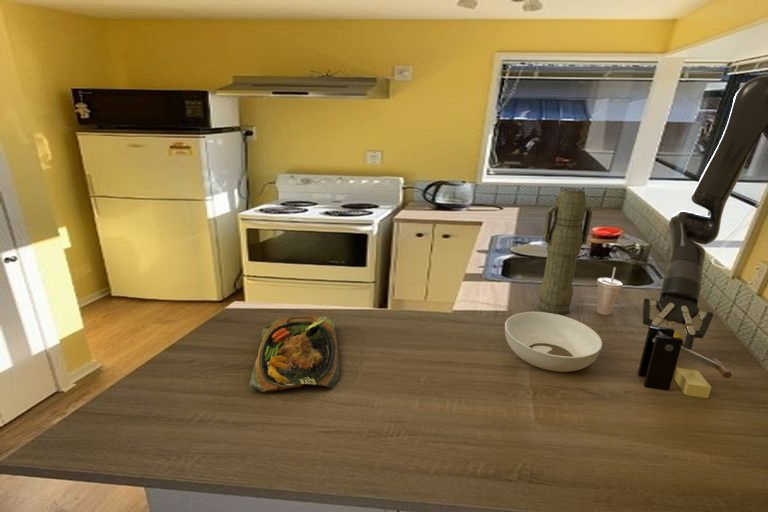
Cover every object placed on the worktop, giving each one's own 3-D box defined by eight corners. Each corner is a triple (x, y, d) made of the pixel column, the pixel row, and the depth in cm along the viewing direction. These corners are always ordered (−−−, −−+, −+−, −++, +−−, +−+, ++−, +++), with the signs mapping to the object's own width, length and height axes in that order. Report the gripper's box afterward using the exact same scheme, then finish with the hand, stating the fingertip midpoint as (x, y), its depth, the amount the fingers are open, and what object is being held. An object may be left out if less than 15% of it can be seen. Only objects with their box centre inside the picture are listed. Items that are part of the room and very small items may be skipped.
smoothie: (609, 319, 119) (619, 272, 115) (587, 311, 124) (596, 266, 119) (619, 313, 123) (629, 268, 119) (597, 305, 128) (606, 261, 123)
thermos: (527, 301, 129) (544, 187, 118) (564, 300, 130) (584, 187, 119) (541, 314, 121) (560, 192, 110) (580, 313, 122) (603, 192, 111)
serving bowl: (499, 373, 92) (503, 345, 90) (503, 330, 111) (506, 306, 109) (604, 393, 87) (611, 364, 84) (589, 344, 106) (594, 319, 103)
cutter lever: (714, 367, 87) (722, 358, 86) (726, 381, 83) (735, 372, 82) (649, 336, 88) (656, 327, 88) (657, 348, 84) (665, 339, 83)
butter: (695, 382, 91) (700, 367, 90) (715, 409, 83) (721, 392, 82) (664, 378, 92) (668, 363, 91) (681, 403, 84) (686, 387, 83)
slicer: (664, 378, 92) (678, 325, 88) (681, 403, 84) (698, 346, 80) (624, 372, 94) (636, 320, 90) (637, 396, 86) (651, 340, 82)
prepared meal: (341, 373, 84) (247, 378, 81) (340, 388, 85) (248, 393, 82) (334, 315, 111) (263, 317, 108) (334, 327, 112) (264, 329, 109)
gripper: (649, 269, 103) (634, 332, 98) (722, 283, 96) (711, 351, 90) (646, 283, 109) (631, 343, 104) (715, 297, 102) (703, 362, 96)
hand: (668, 346), depth 97 cm, fingers open, 5 cm apart
